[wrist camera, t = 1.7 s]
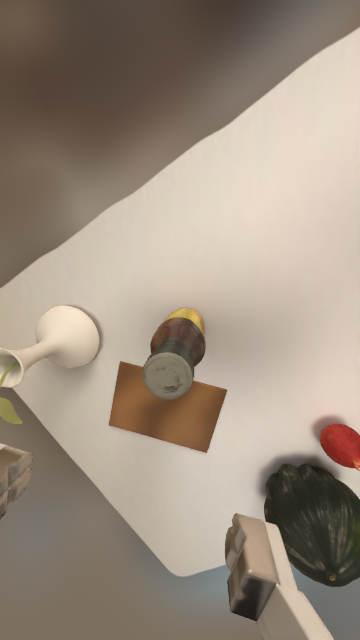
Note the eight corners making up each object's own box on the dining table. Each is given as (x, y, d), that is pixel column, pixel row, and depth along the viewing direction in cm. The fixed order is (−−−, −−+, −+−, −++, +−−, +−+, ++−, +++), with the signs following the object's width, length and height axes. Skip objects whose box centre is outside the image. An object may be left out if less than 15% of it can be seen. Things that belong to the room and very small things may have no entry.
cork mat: (226, 389, 37) (227, 390, 37) (206, 451, 40) (206, 453, 40) (120, 361, 38) (119, 361, 38) (109, 423, 41) (108, 425, 41)
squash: (361, 558, 35) (432, 627, 22) (269, 553, 38) (286, 613, 25) (328, 458, 42) (368, 468, 30) (252, 460, 45) (259, 470, 32)
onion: (335, 407, 36) (372, 444, 28) (353, 431, 36) (394, 474, 28) (304, 423, 37) (331, 463, 29) (322, 446, 38) (353, 491, 30)
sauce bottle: (197, 346, 36) (191, 430, 17) (163, 335, 36) (118, 405, 17) (209, 311, 34) (219, 359, 15) (174, 299, 35) (138, 332, 15)
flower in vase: (34, 314, 38) (-266, 386, 14) (89, 296, 36) (-145, 343, 12) (63, 377, 40) (-150, 536, 16) (115, 363, 38) (-34, 519, 14)
